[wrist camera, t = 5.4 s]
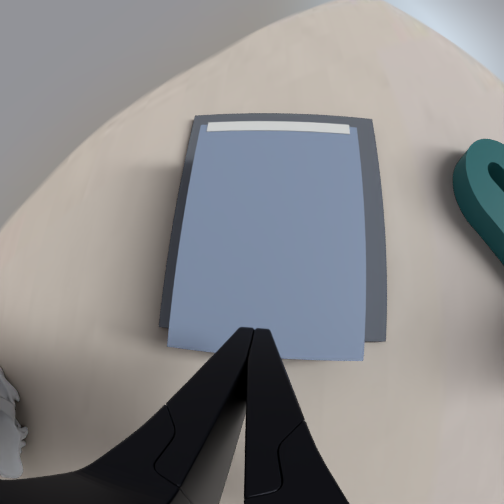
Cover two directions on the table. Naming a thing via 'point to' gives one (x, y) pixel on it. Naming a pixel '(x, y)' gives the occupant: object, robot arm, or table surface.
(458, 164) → the bracket
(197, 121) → the mat
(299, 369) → the table surface
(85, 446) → the table surface
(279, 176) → the book block
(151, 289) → the table surface
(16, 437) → the skull
